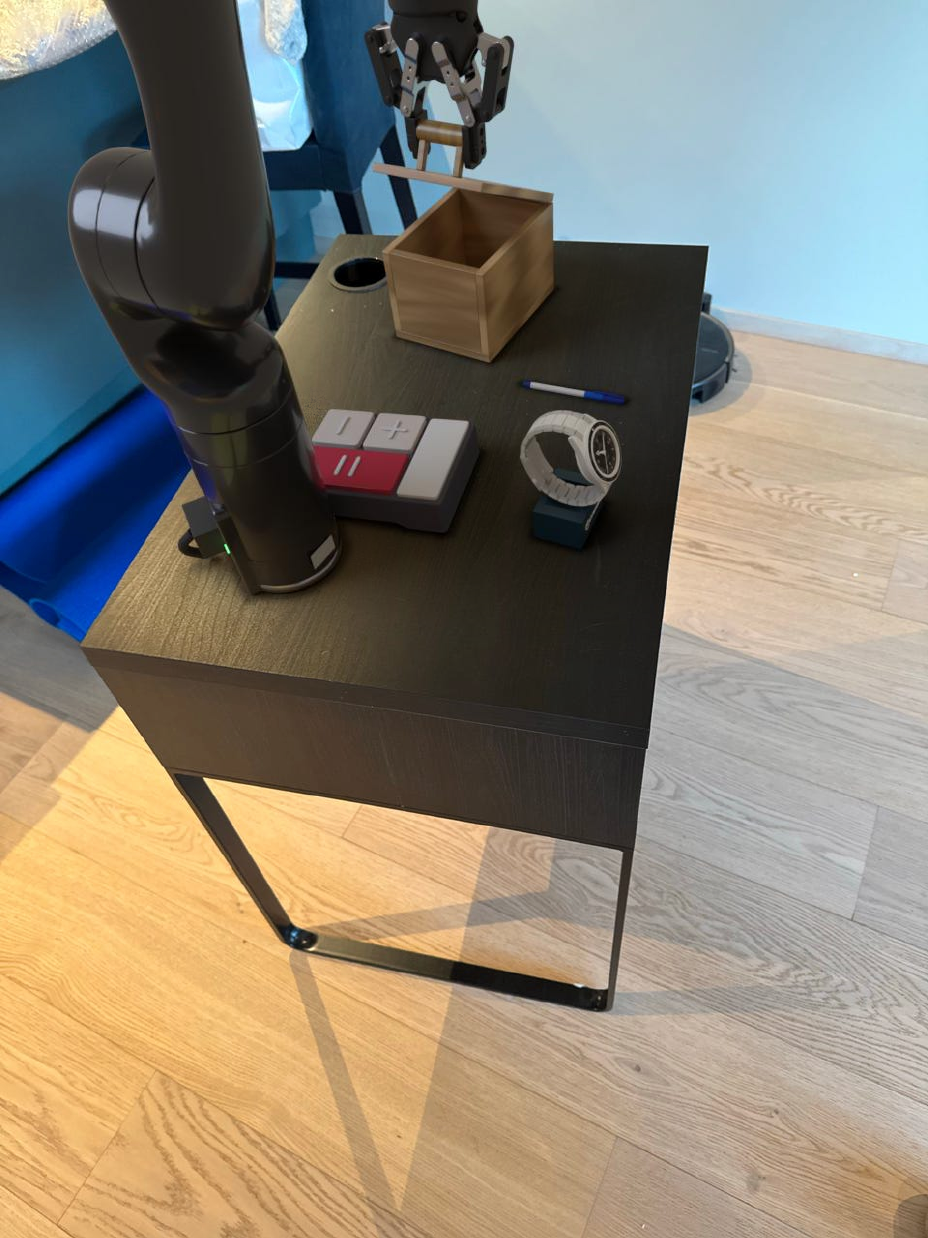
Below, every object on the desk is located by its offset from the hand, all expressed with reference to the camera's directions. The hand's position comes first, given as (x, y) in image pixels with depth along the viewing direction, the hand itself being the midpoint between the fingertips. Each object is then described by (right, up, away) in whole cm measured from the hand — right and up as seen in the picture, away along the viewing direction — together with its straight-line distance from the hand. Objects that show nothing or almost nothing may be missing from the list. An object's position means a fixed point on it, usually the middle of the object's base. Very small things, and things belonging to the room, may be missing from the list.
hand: (447, 160), depth 78 cm
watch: (+11, -34, -5) cm, 36 cm away
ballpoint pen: (+12, -21, +5) cm, 25 cm away
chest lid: (+2, 0, +4) cm, 5 cm away
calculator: (-6, -30, 0) cm, 31 cm away
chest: (+3, -9, +15) cm, 18 cm away
